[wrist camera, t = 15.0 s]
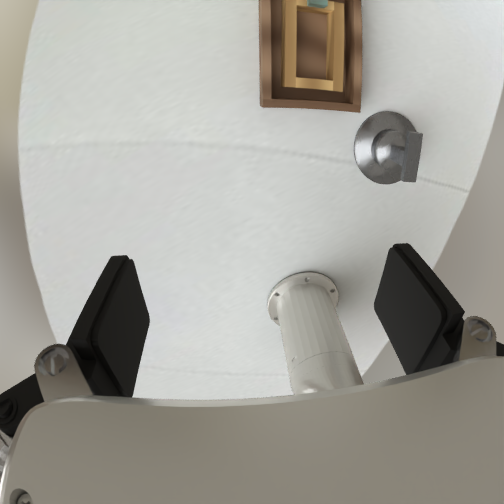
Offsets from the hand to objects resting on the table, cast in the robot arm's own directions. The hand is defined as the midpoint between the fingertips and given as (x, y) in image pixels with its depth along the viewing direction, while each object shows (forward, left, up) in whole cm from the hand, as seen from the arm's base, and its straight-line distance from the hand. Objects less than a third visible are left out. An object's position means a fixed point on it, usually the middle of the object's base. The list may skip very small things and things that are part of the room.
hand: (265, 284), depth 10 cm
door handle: (-1, -21, -30) cm, 37 cm away
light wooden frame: (+13, -9, -30) cm, 33 cm away
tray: (+13, -8, -30) cm, 34 cm away
